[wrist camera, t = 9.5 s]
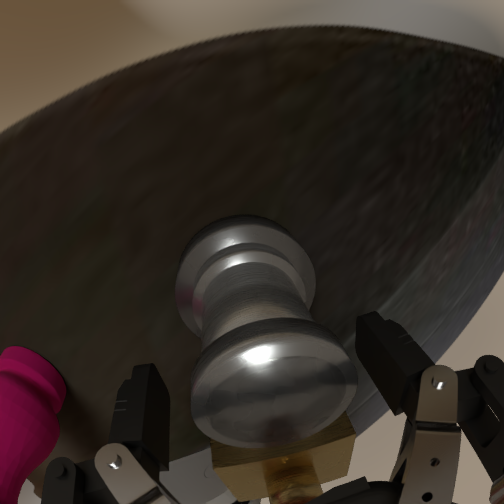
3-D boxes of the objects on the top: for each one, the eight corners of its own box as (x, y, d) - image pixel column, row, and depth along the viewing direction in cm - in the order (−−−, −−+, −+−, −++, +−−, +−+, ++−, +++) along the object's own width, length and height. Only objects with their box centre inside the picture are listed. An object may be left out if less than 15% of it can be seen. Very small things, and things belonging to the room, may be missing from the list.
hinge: (159, 488, 26) (136, 546, 16) (132, 465, 26) (101, 523, 16) (277, 448, 25) (278, 527, 15) (249, 420, 24) (240, 503, 14)
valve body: (228, 431, 22) (246, 544, 12) (152, 233, 15) (88, 408, 5) (320, 410, 23) (362, 515, 13) (305, 200, 15) (449, 321, 5)
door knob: (180, 256, 13) (164, 368, 7) (292, 231, 14) (362, 321, 7) (208, 343, 15) (216, 457, 9) (302, 321, 16) (352, 424, 9)
